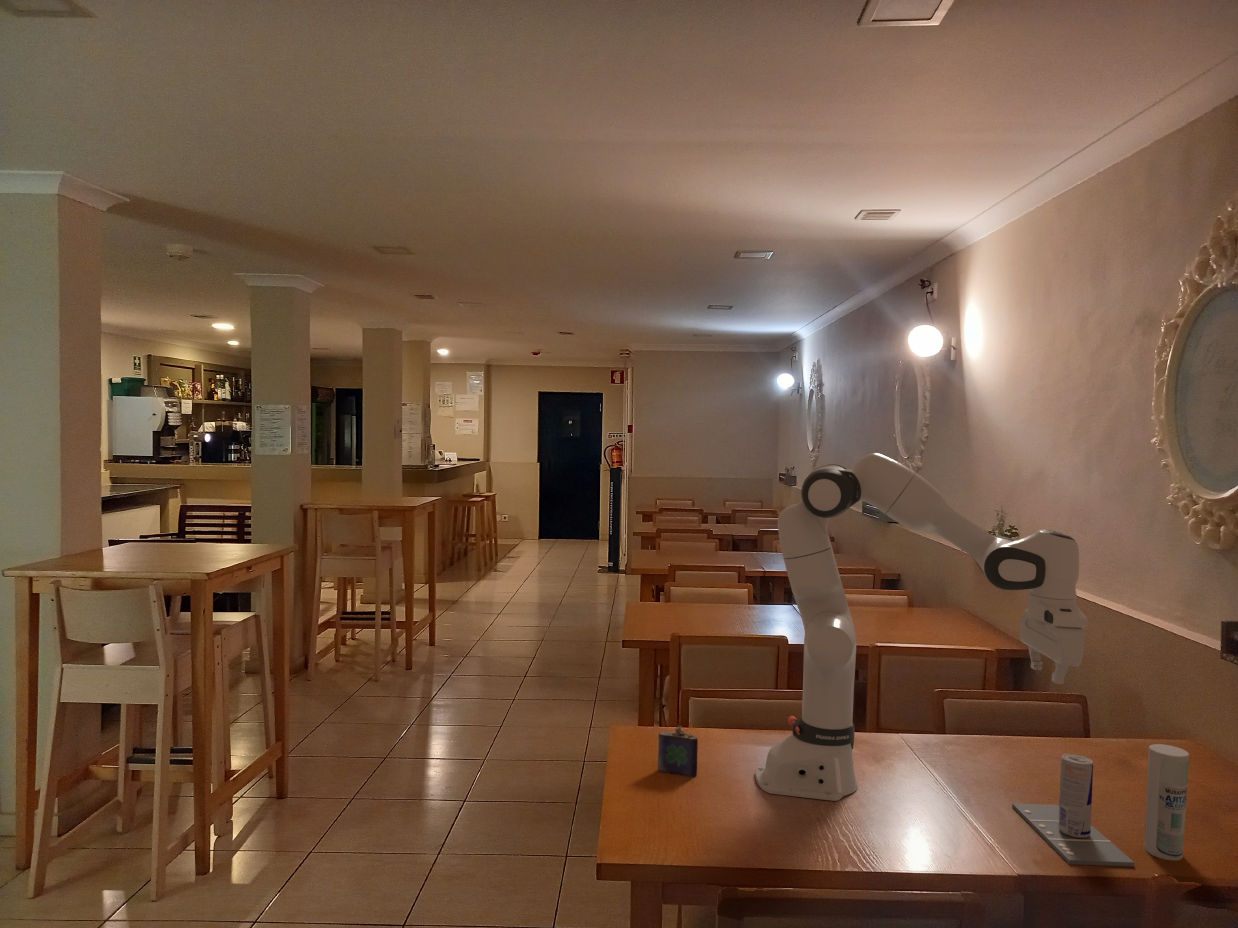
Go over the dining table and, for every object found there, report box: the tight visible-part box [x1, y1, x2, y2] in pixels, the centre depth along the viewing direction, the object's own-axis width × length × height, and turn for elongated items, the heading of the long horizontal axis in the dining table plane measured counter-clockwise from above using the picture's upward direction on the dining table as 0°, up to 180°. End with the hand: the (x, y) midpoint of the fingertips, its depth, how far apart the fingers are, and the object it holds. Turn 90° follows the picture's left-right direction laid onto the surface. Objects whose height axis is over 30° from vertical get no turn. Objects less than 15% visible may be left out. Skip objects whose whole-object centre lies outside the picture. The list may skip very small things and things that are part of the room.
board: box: [1011, 803, 1135, 868], centre depth 170 cm, size 12×24×1 cm, turn 179°
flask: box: [657, 725, 699, 778], centre depth 196 cm, size 9×3×11 cm, turn 71°
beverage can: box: [1058, 753, 1094, 838], centre depth 169 cm, size 6×6×15 cm
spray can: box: [1144, 743, 1190, 861], centre depth 164 cm, size 6×6×20 cm
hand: (1046, 675), depth 176 cm, fingers open, 8 cm apart
